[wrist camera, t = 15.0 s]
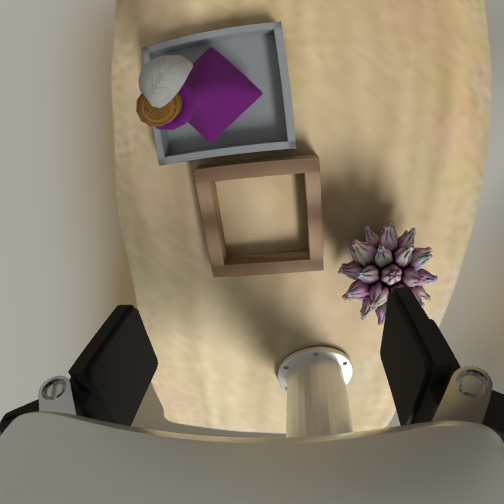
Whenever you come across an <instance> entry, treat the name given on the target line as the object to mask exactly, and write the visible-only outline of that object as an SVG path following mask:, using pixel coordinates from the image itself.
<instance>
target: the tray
mask: <svg viewBox="0 0 504 504" xmlns="http://www.w3.org/2000/svg"><path fill="white" fill-rule="evenodd" d="M210 47H213V48H214V49H215V50H217V51H218V52H219V53H220V54H221V55H222V56H224V57H225V58H226V59H227V60H228V61H229V62H230V63H231V64H233V65H234V66H235V67H236V68H237V69H238V70H239V71H240V72H241V73H243V74H244V75H245V76H246V77H247V78H248V79H249V80H250V81H251V82H252V83H253V84H254V85H255V86H256V87H258V88H259V89H260V90H261V91H262V93H263V94H262V96H261V97H259V98H258V99H257V100H256V101H255V102H254V103H253V104H252V105H251V106H250V107H249V108H248V109H246V110H245V111H244V112H243V113H242V114H241V115H240V116H239V117H238V118H237V119H236V120H235V121H234V122H233V123H232V124H231V125H230V126H229V127H228V128H227V129H226V130H225V131H224V132H223V133H222V134H221V135H220V136H219V137H218V138H217V139H216V140H215V141H214V142H212V143H209V142H208V141H207V140H206V139H205V138H204V137H203V136H202V135H201V134H200V133H199V132H198V131H197V130H196V129H195V128H194V127H192V126H191V125H190V124H189V123H188V122H187V123H186V124H184V125H182V126H180V127H178V128H176V129H175V130H159V129H157V128H156V127H154V126H152V127H153V133H154V139H155V144H156V150H157V156H158V161H159V165H165V164H170V163H176V162H183V161H189V160H195V159H202V158H209V157H217V156H224V155H232V154H241V153H250V152H260V151H270V150H282V149H295V148H296V137H295V127H294V118H293V109H292V100H291V91H290V83H289V75H288V67H287V60H286V53H285V46H284V39H283V32H282V25H281V22H270V23H260V24H251V25H243V26H236V27H230V28H224V29H218V30H212V31H207V32H202V33H197V34H193V35H188V36H184V37H180V38H176V39H172V40H168V41H164V42H161V43H157V44H154V45H150V46H147V47H144V48H142V54H143V63H144V66H145V65H146V63H147V62H149V61H151V60H152V59H154V58H156V57H160V56H165V55H181V56H183V57H185V58H186V59H188V60H189V61H190V62H191V63H192V64H193V63H194V62H195V61H196V60H197V59H198V58H199V57H200V56H201V55H202V54H203V53H204V52H205V51H206V50H207V49H208V48H210Z"/></svg>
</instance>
